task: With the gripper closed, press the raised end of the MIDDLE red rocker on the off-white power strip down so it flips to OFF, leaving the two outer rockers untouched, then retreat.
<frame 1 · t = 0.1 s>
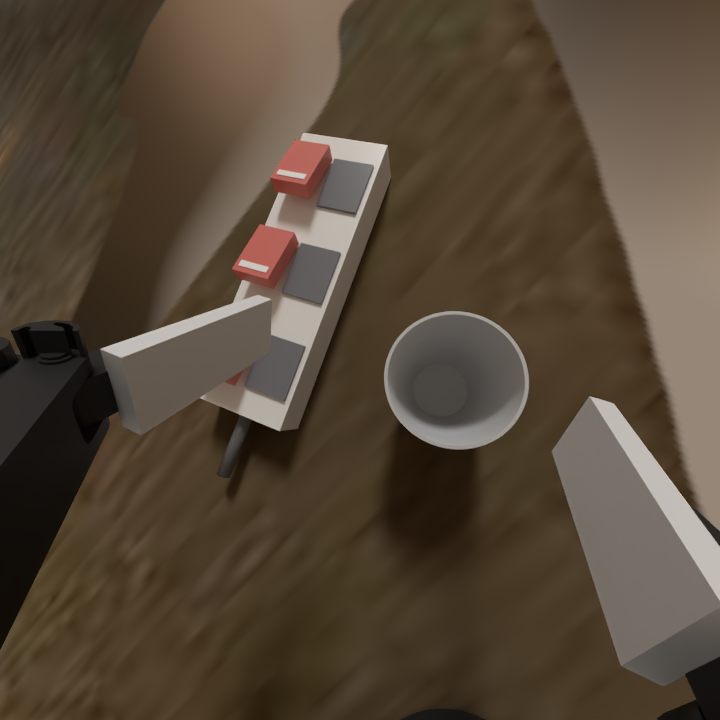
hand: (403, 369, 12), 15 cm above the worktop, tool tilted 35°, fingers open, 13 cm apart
rocker 1: (228, 349, 25), point 5 cm above the worktop, hinge at 12.0°
cup: (439, 389, 27), on the worktop
power strip: (307, 286, 31), on the worktop
rocker 2: (266, 255, 26), point 5 cm above the worktop, hinge at 12.0°
rocker 3: (302, 168, 27), point 5 cm above the worktop, hinge at 12.0°
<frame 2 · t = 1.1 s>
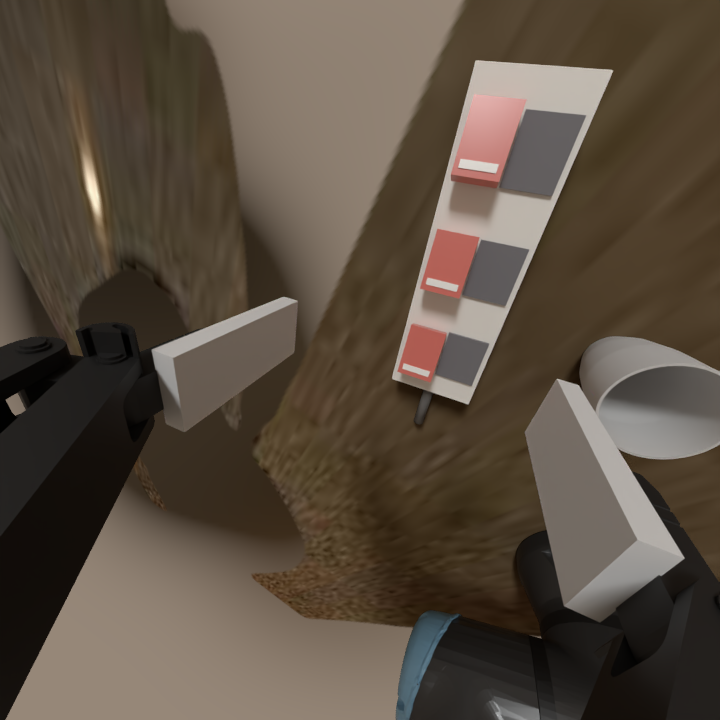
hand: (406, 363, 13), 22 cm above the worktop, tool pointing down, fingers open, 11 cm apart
rocker 1: (421, 352, 31), point 5 cm above the worktop, hinge at 12.0°
cup: (610, 358, 30), on the worktop
power strip: (472, 262, 30), on the worktop
rocker 2: (448, 264, 26), point 5 cm above the worktop, hinge at 12.0°
rocker 3: (485, 143, 22), point 5 cm above the worktop, hinge at 12.0°
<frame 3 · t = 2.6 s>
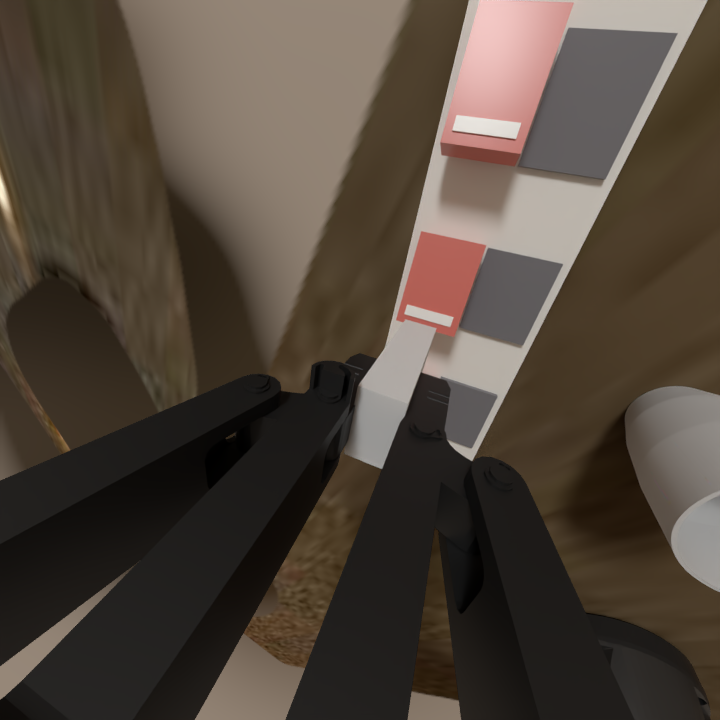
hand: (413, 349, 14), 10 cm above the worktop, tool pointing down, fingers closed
cup: (667, 415, 21), on the worktop
power strip: (473, 278, 22), on the worktop
rocker 2: (438, 285, 17), point 5 cm above the worktop, hinge at 12.0°
rocker 3: (498, 88, 13), point 5 cm above the worktop, hinge at 12.0°
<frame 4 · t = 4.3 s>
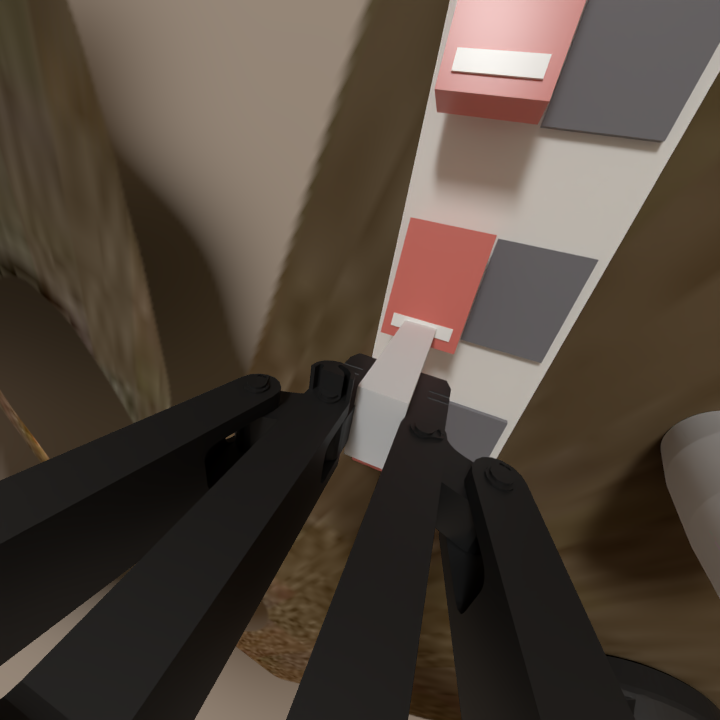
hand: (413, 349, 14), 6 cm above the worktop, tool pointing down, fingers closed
rocker 1: (391, 430, 18), point 5 cm above the worktop, hinge at 12.0°
cup: (714, 443, 17), on the worktop
power strip: (478, 277, 18), on the worktop
rocker 2: (434, 287, 14), point 5 cm above the worktop, hinge at 10.1°, touching gripper
rocker 3: (517, 8, 9), point 5 cm above the worktop, hinge at 12.0°
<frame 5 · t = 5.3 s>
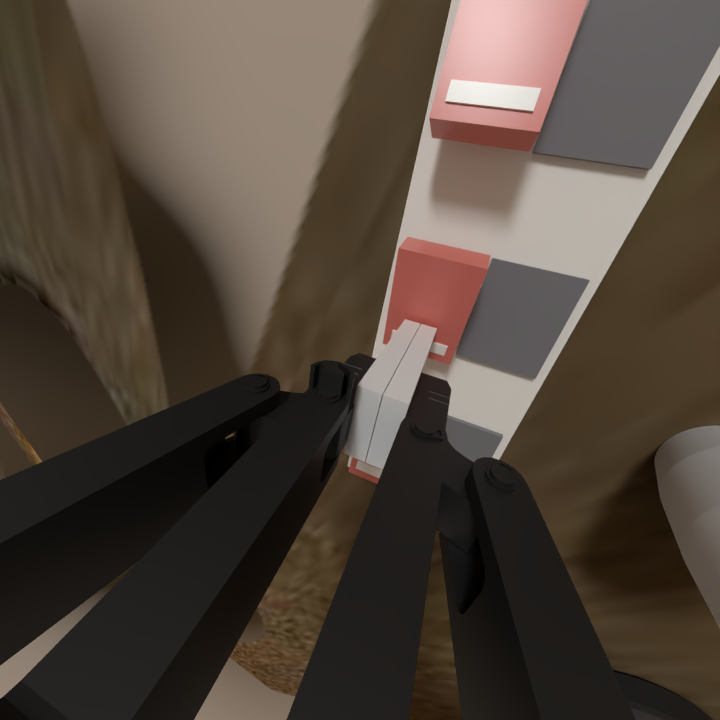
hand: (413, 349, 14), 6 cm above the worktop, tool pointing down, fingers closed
rocker 1: (388, 442, 18), point 5 cm above the worktop, hinge at 12.0°
cup: (707, 458, 18), on the worktop
power strip: (473, 292, 18), on the worktop
rocker 2: (429, 305, 14), point 5 cm above the worktop, hinge at -16.1°, touching gripper
rocker 3: (509, 43, 10), point 5 cm above the worktop, hinge at 12.0°
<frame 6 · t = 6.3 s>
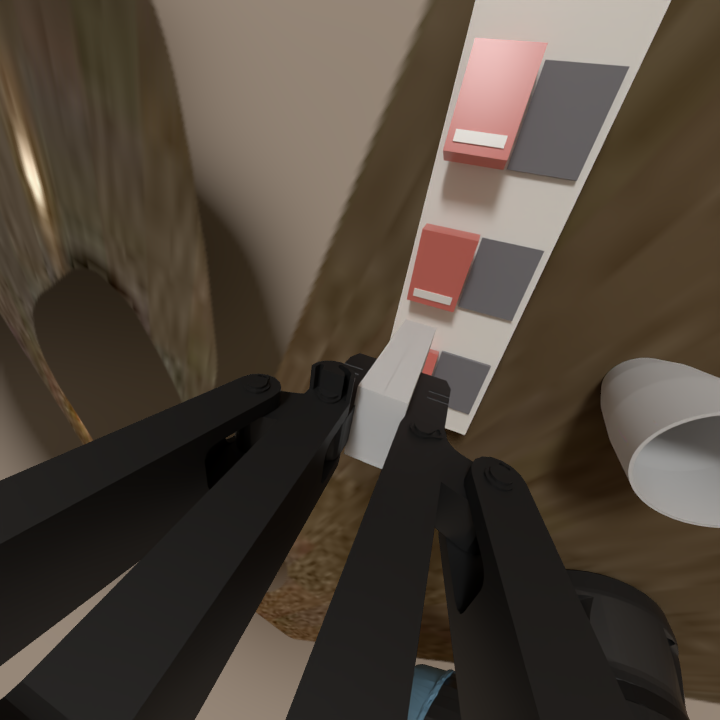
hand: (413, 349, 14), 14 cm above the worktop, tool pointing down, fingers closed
rocker 1: (408, 375, 25), point 5 cm above the worktop, hinge at 12.0°
cup: (637, 383, 25), on the worktop
power strip: (470, 265, 25), on the worktop
rocker 2: (440, 269, 21), point 5 cm above the worktop, hinge at -13.3°
rocker 3: (490, 107, 16), point 5 cm above the worktop, hinge at 12.0°
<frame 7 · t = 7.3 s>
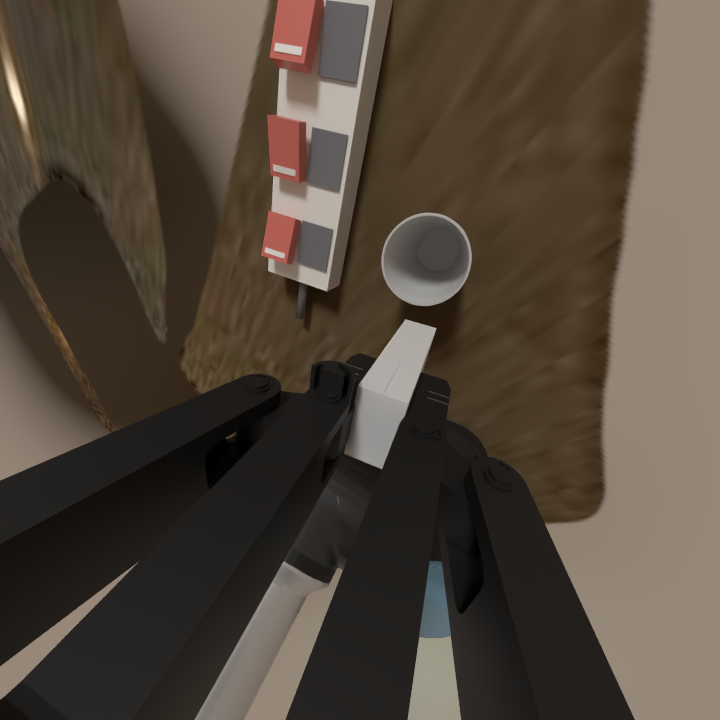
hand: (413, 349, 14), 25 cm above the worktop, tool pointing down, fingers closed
rocker 1: (280, 238, 36), point 5 cm above the worktop, hinge at 12.0°
cup: (437, 250, 35), on the worktop
power strip: (326, 161, 35), on the worktop
rocker 2: (287, 149, 31), point 5 cm above the worktop, hinge at -11.9°
rocker 3: (296, 30, 26), point 5 cm above the worktop, hinge at 12.0°
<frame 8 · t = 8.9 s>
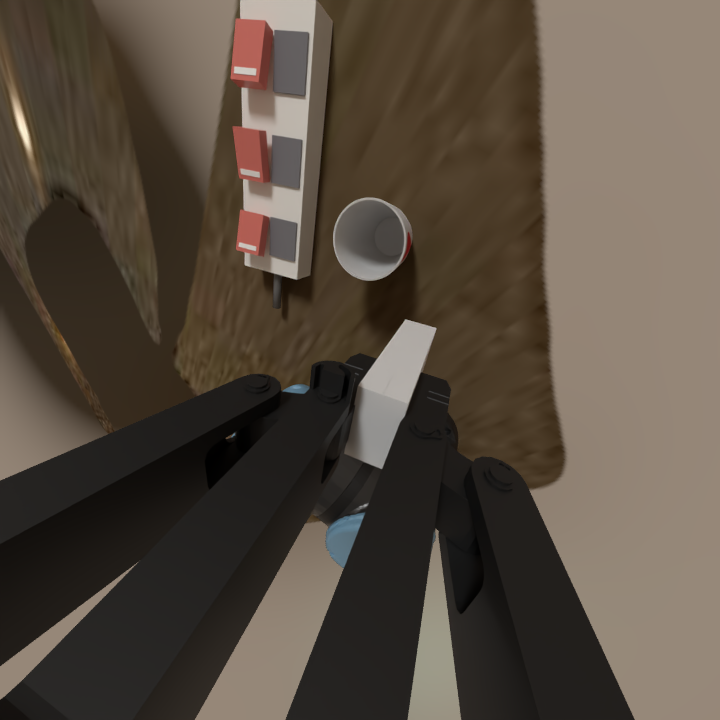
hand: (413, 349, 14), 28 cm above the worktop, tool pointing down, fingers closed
rocker 1: (252, 233, 40), point 5 cm above the worktop, hinge at 12.0°
cup: (391, 236, 40), on the worktop
power strip: (290, 165, 40), on the worktop
rocker 2: (252, 155, 36), point 5 cm above the worktop, hinge at -10.4°
rocker 3: (251, 55, 32), point 5 cm above the worktop, hinge at 12.0°
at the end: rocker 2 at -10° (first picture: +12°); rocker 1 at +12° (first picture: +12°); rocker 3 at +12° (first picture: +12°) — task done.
